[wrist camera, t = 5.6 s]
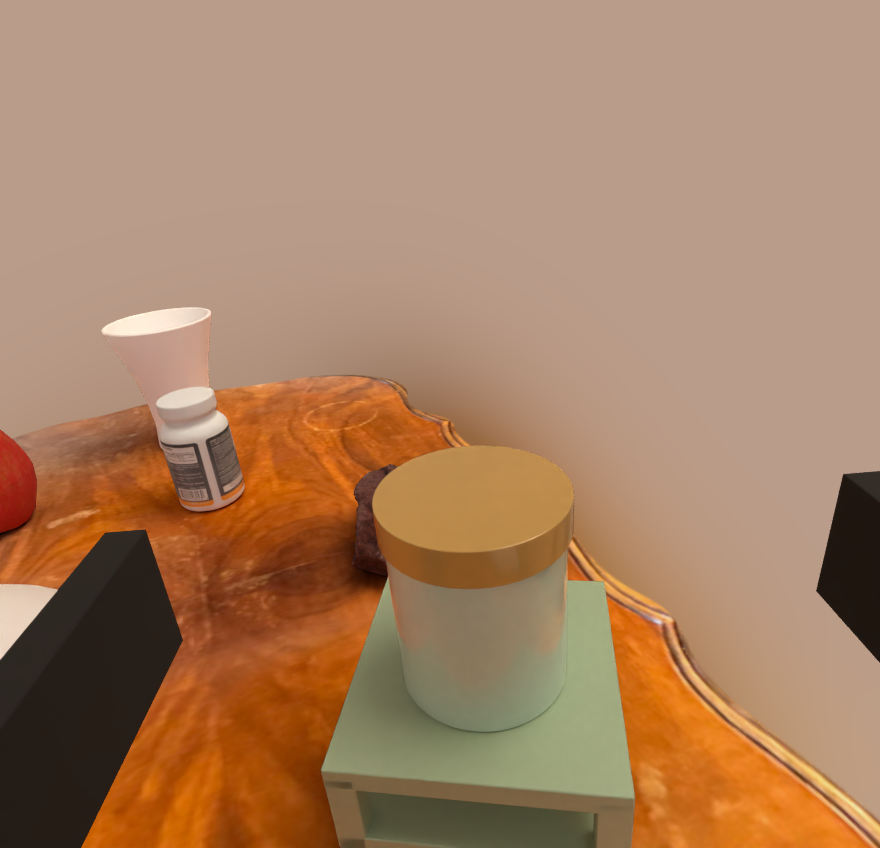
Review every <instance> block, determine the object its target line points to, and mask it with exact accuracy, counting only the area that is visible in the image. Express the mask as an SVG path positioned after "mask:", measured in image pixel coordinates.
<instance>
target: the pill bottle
mask: <svg viewBox="0 0 880 848" xmlns="http://www.w3.org/2000/svg"><path fill="white" fill-rule="evenodd" d="M216 405H217V401H216V397H215V394H214V391H213V390H212V389H211V388H208V387H190V388H185V389H180V390H177V391H173V392H171V393H168V394H166V395H164V396H162V397H161V398H159V399H158V400H157V402H156V408H157V412H158V415H159V417H160V418H161V419H162V420H163V421H164V423H163V425H162V426H161V428H160V430H159V440H160V442H161V445H162V448H163V451H164V454H165V458H166V460H167V464H168V467H169V470H170V473H171V476H172V479H173V482H174V485H175V489H176V492H177V495H178V498H179V500H180V503H181V505H182V506H183V507H184V508H186V509H188V510H191V511H199V512H200V511H210V510H215V509H219V508H221V507H224V506H226V505H228V504H230V503H232V502H233V501H235V500H236V499H237V498H239V497H240V495H241V494H242V493H243V490H244V488H245V485H244V480H243V476H242V472H241V469H240V465H239V461H238V457H237V453H236V449H235V445H234V442H233V438H232V434H231V430H230V427H229V423H228V420H227V418H226V417H225V415H223V414H222V413H221V412H219V411H216V409H215V408H216Z"/></svg>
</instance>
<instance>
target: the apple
mask: <svg viewBox="0 0 880 848" xmlns="http://www.w3.org/2000/svg"><path fill="white" fill-rule="evenodd" d="M36 492H37V479H36V475H35V471H34V467H33V463H32V462H31V460H30V459H29V457H28V456H27V454H26V453H25V452H24V451H23V450H22V449H21V448H20V446H19V445H18V444H17V443H16V442H15V441H14V440H13V439H11V438H10V437H9V436H8V435H6V434H5V433H4V432H3V431H1V430H0V533H2V532H5V531H8V530H11V529H14V528H17V527H19V526H20V525H22V524H23V523H25V522H26V521H28V520H29V518H30V517H31V515H32V513H33V511H34V509H35V507H36Z"/></svg>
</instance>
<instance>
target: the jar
mask: <svg viewBox="0 0 880 848" xmlns="http://www.w3.org/2000/svg"><path fill="white" fill-rule="evenodd" d="M372 509H373V516H374V522H375V529H376V535H377V542H378V546H379V548H380V551H381V553H382V554H383V556H384V557H385V559H386V565H387V572H388V579H389V585H390V592H391V599H392V605H393V612H394V619H395V625H396V632H397V639H398V645H399V652H400V659H401V666H402V672H403V679H404V682H405V685H406V688H407V690H408V692H409V694H410V696H411V697H412V699H413V700H414V701H415V703H416V704H417V705H418V706H419V707H420V708H421V709H422V710H423V711H424V712H425V713H426V714H428V715H429V716H430V717H432V718H433V719H435V720H437V721H439V722H441V723H443V724H445V725H448V726H450V727H453V728H457V729H460V730H464V731H472V732H496V731H503V730H507V729H512V728H515V727H518V726H520V725H523V724H525V723H527V722H529V721H531V720H533V719H535V718H536V717H538V716H539V715H541V714H542V713H543V712H544V711H546V710H547V709H548V708H549V707H550V706H551V705H552V703H553V702H554V701H555V700H556V699H557V697H558V695H559V694H560V692H561V690H562V688H563V686H564V683H565V680H566V675H567V639H568V546H569V544H570V542H571V540H572V536H573V529H574V490H573V486H572V484H571V482H570V480H569V478H568V477H567V475H566V474H565V473H564V472H563V471H562V470H561V469H560V468H559V467H558V466H556V465H555V464H554V463H552V462H551V461H549V460H547V459H545V458H543V457H541V456H538V455H536V454H533V453H530V452H527V451H523V450H519V449H514V448H507V447H499V446H463V447H455V448H449V449H444V450H439V451H435V452H431V453H428V454H425V455H422V456H419V457H417V458H414V459H412V460H410V461H408V462H406V463H404V464H402V465H400V466H399V467H397V468H396V469H394V470H393V471H391V472H390V473H389V474H388V475H387V476H386V477H385V478H384V479H383V480H382V481H381V482H380V483H379V485H378V487H377V488H376V490H375V493H374V495H373V499H372Z"/></svg>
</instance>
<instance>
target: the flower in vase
mask: <svg viewBox="0 0 880 848" xmlns="http://www.w3.org/2000/svg"><path fill="white" fill-rule="evenodd" d="M57 591H58V590H57V589H53V588H48V587H42V586H37V585H22V584H0V659H1V658H2V657H3V656H4V655H5V653H6V652H7V651H8V650H9V649H10V647H11V646H12V645H13V644H14V642H15V641H16V640H17V639H18V638H19V636H20V635H21V634H22V633H23V632H24V630H25V629H26V628H27V627H28V626H29V624H30V623H31V622H32V621H33V620H34V618H35V617H36V616H37V615H38V614H39V612H40V611H41V610H42V609H43V607H44V606H45V605H46V604H47V603H48V601H49V600H50V599H51V598H52V597H53V595H54V594H55V593H56V592H57Z"/></svg>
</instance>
